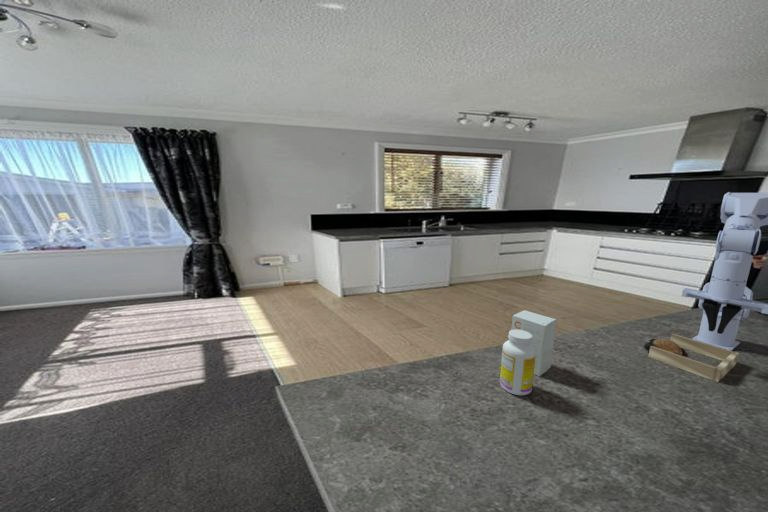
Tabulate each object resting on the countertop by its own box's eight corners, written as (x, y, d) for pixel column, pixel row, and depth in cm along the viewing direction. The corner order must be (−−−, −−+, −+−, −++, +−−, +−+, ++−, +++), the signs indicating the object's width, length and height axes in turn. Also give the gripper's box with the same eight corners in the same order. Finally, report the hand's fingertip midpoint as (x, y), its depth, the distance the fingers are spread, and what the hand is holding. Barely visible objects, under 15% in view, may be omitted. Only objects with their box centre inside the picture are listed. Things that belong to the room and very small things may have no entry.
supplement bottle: (531, 383, 69) (537, 330, 67) (532, 400, 63) (538, 343, 61) (500, 375, 72) (505, 325, 69) (498, 391, 66) (503, 337, 63)
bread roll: (646, 342, 91) (648, 330, 90) (685, 352, 85) (688, 340, 84) (641, 353, 84) (643, 341, 83) (683, 366, 78) (686, 352, 77)
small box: (551, 368, 75) (557, 319, 73) (539, 377, 71) (546, 325, 69) (519, 354, 81) (524, 309, 79) (507, 362, 77) (512, 315, 75)
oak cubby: (670, 343, 89) (672, 333, 89) (736, 363, 78) (739, 353, 78) (648, 356, 81) (650, 346, 81) (718, 382, 70) (720, 370, 70)
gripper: (682, 274, 77) (671, 324, 79) (773, 289, 65) (757, 347, 67) (691, 271, 80) (681, 319, 83) (779, 284, 68) (764, 340, 71)
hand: (715, 331), depth 75 cm, fingers closed
